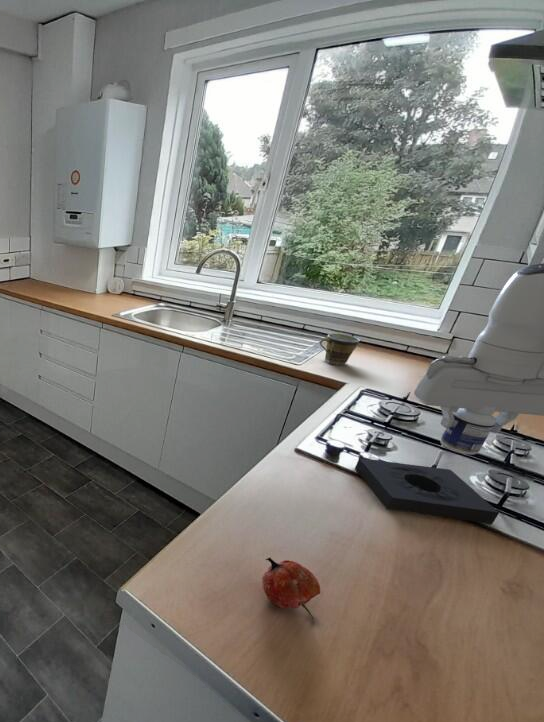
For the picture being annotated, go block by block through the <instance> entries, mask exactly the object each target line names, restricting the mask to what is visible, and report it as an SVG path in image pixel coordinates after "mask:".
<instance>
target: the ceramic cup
mask: <svg viewBox="0 0 544 722" xmlns="http://www.w3.org/2000/svg"><path fill="white" fill-rule="evenodd" d="M324 341H326V345H325V346H326V347H325V346H323V344H322V343H323V342H324ZM360 341H361V340H360V339H359V338H358V337H355V336H353V335H349V334H344V333H329V334H327V337H326V338H322V339H321V340H320V341H319V345H320V347H321V348H322V349H323V350H324V351H325V356H324V362H326V363H327V364H330V365H334V366H345V365H346V364H347V362H348V361H349V359H350V358H351V356H352V354H353V352H354V351H355V350H356V348H357V347H358V345H359V344H360Z"/></svg>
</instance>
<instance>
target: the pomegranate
mask: <svg viewBox="0 0 544 722" xmlns="http://www.w3.org/2000/svg"><path fill="white" fill-rule="evenodd" d="M265 561H268V562H269V563H270V566H269V567H268V569H267V570H266V571H265V572H264V574H263V575H262V577H261V578H262V579H261V580H262V581H261V583H262V589H263V591H264V593H265V595H266V597H267V599H268V600H269V602H271V603H272V604H274V605H275V606H276V607H279V608H280V609H284V610H285V609H287V608H291V609H298V608H300V606H301V607H302V608H303V609H305V611H306V612H307V613H308V614H309V616H310V618H311V619H312V620H315V617H314V616H313V615H312V614H311V612H310V610H309V609H308V607H307V606H306V604H307V603H309V602H311V600H312V599H314V598H315V597H317V596H318V595H320V594H321V586H320V583H319V581H318V579H317V577H316V576H315V575H314V574H313V572H312V571H310V569H309V568H307V567H305V566H303V565H302V564H300V563H298V562H296V561H294V560H287V559H286V560H285V559H284V560H282V561H280V562H276V561H275V560H273V559H272V557H271V556H270V557H268V558H266V559H265Z"/></svg>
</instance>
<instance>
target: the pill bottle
mask: <svg viewBox="0 0 544 722" xmlns="http://www.w3.org/2000/svg"><path fill="white" fill-rule="evenodd" d="M496 412H497V411H495V408H493V407H484V408H483V409H481V410H475V409H464V408H459V409H458V411H457V412H456V413H454V412H453V416H454V418H455V419H457V420H458V421H459V423H458V424H457V425H456V426H457V427H456V428H445V430H444V431H443V434H442V435H441V437H440V439H439V440H440V441H439V442H440V444H441V445H442V446H444V447H445V448H446V449H449V450H450V451H453V452H456V453H459V454H463V455H469V456H470V455H477V454H479V452H480V451H481V449H482V447H483V446H484V443H485V442H486V440H487V439H488V437H489V435H490V433H491V432H490V431H491V430H492V428H493V426H494V424H495V422H496V419H495V417H496V416H494V414H495V413H496Z"/></svg>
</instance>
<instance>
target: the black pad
mask: <svg viewBox="0 0 544 722" xmlns="http://www.w3.org/2000/svg"><path fill="white" fill-rule="evenodd" d="M354 470H355V471H356V472H357V474H358V475H359V476H360V477H361V479H363V481H364V482H365V483H366V485H367V486H368V487H369V488H370V490H371V491H372V493H373V494H374V495H375V496H376V497H377V499H378V500H379V501H380V503H381V504H382V505H383V506H384V507H385V509H387V510H391V511H399V512H406V513H411V514H412V513H413V514H419V515H424V516H433V517H439V518H444V519H445V518H447V519H453V520H460V521H466V522H467V521H468V522H475V523H480V524H486V525H493V523H494V522H495V520H496V519H497V517H499V514H500V512H499V511H498V510H497V509H496V508H495V507H494V506H493V505H491V504H490V503H489V502H488V501H487V500H486V499H485V498H483V497H482V496H481V495H480V494H479V493H478V492H477V491H475V489H473V488H472V487H471V486H470V485H469V484H468V483H466V482H465V480H463V479H462V478H460V477H459V476H458V475H457V474H456V473H455V472H454V471H453V470H452V469H450V468H443V467H442V468H441V467H433V466H424V465H417V464H409V463H400V462H392V461H384V460H378V459H377V460H376V459H369V458H358V459H357V463H356V465H355V468H354Z"/></svg>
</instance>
